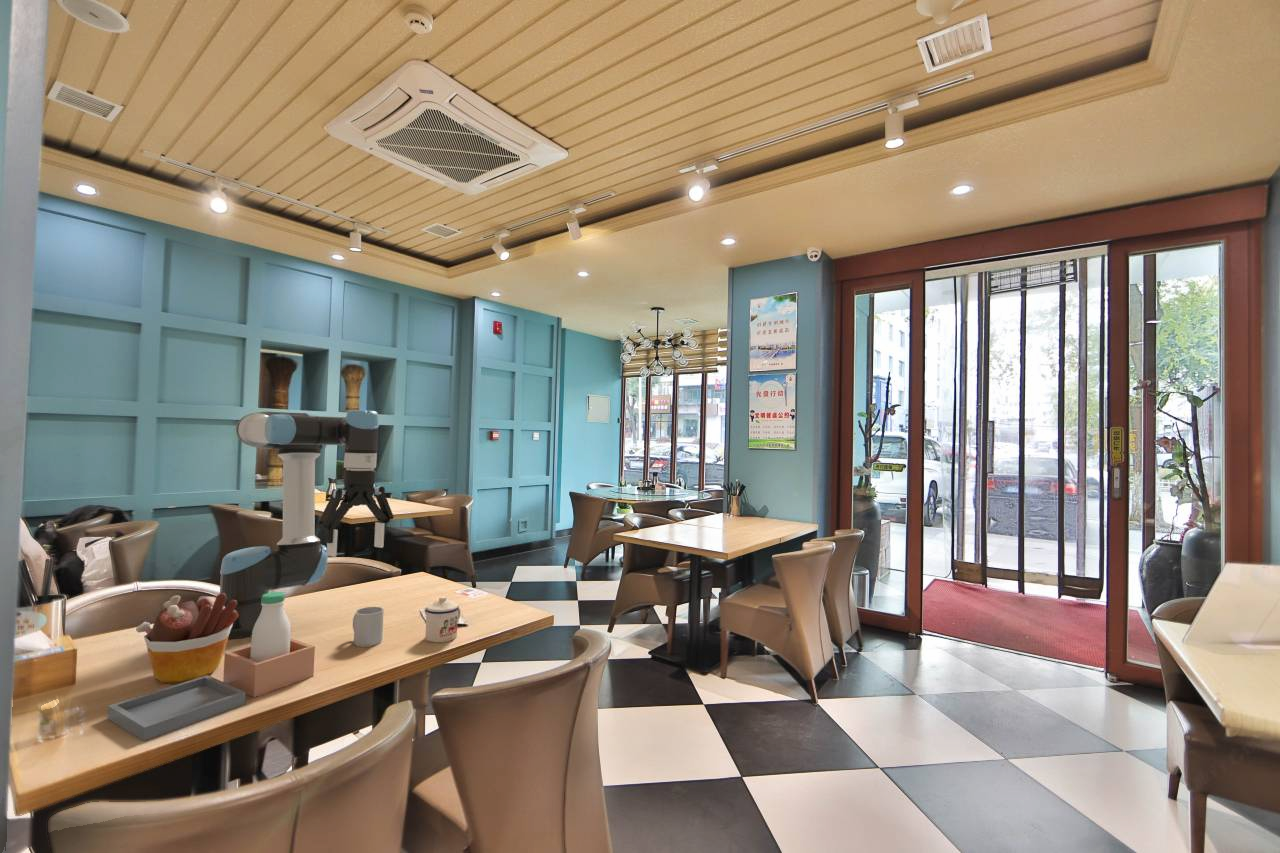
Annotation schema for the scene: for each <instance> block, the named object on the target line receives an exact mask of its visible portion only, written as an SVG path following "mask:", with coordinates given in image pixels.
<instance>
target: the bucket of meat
mask: <svg viewBox="0 0 1280 853" xmlns="http://www.w3.org/2000/svg"><path fill="white" fill-rule="evenodd" d="M181 598H182V597H181V596H180V595H178V594H177V595H173V596H171V597H170V599H169V600H168V601H165V602H164V603H163V608H164V609H162V610H161V611H159V612H158V615H157V616H156V618H155V621H154V623H153V625H152V627H151V623H150V622H147V621H143V623H141V624H139V625H138V626H136V629H135V631H136V632H137V633H144V632H145V633H146V634H145V635H144V636H143V637H144V642H145V645H146V649H147V652H148V656H149V661H150V664H151V670H152V672H153V673H152V674H153V676H154V677H155V678H156V679H157V680H158V681H159V682H161V683H162V684H180V683H184V682H187V681H190V680H193V679H197V678H200V677H203V676H206V675H209V676H210V675H212V674H213V673H214V672H215V671H216V670H217V668H218V667H219V665H221V662H222V659H223V656H224V654H225V649H226V646H227V643H228V640H229V639H228V637H229V634H230V630H231V628H232V625H233V622H234V621H235V620H236V619H237V618H238V616H239V614H238V613H237V611H236V610H234V609H235V607H236V606H237V601H236V600H231V601H230V602H228V604H227V606H226V607H225V606H224V604H225V602H226V599H227V596H226V594H225V593H220V592H219V594H218V595H216V596H202V595H201V596H200V597H198V598H197V601H196V603H195V602H194V601H195V600H188V601H185V602H181V603H179V602H180V601H181Z"/></svg>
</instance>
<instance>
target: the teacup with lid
mask: <svg viewBox="0 0 1280 853" xmlns="http://www.w3.org/2000/svg"><path fill="white" fill-rule="evenodd" d="M438 598H439V599H438V600H435V601H434V602H431V603H429V604H428V605H426V606H427V607H426V606H425V607H426V609H425V610H426V620H425V634H424V635H425V636H424V637H425V640H426V641H427V642H429V643H437V644H438V643H446V642H450V641H452V640H455V639H456V638H457V635H458V624H457V622H458V620H459V618H460V614H461V613H462V611H461V608H460V607H459V604H458V603H457V602H454V601H451V600H449V599H447V597H446V596H444V595H442V596H439V597H438Z"/></svg>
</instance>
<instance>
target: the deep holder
mask: <svg viewBox="0 0 1280 853" xmlns="http://www.w3.org/2000/svg"><path fill="white" fill-rule="evenodd" d="M315 649H316V646H314V645H312V644H309V643H305V642H302V641H299V640H296V639H294V638H292V637H290V653H287V654H284V655H281V656H278V657H275V658H271V659H268V660H265V661H262V662H259V663H258V662H255V661H253V660H250V655H251V645H248V646H244V647H241V648H238V649H233V650H231V651H227V652H224V660H223V662H224V663H223V680H222V682H224V683H227V684H229V685H231V686H233V687H235V688H238V689H240V690H242V691H244V692H246V695H247V696H249V695H250V697H252V698H256V696H257V697H259V696H262V694H263V695H265V694H268V693H270V691H271V692H273V690H274V691H276V690H279V689H282V688H284V686H285V687H287V686H290V685H292V684H291V683H293V684H295V683H294V682H296V683H298V682H300V681H299V680H301V681H303V680H302V679H304V680H306V679H305V678H307V679H309V678H312V677H314V675H315V674H314V672H315ZM297 681H298V682H297ZM289 684H290V685H289ZM286 685H287V686H286ZM281 687H282V688H281ZM278 688H279V689H278ZM275 689H276V690H275Z"/></svg>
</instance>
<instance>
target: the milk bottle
mask: <svg viewBox="0 0 1280 853" xmlns="http://www.w3.org/2000/svg"><path fill="white" fill-rule="evenodd" d="M285 597H286V593H285V592H283V591H274V592H272V591H270V592H269V593H267V594H264V595H262V598H261V602H262V604H261V605H262V610H261V613H260V615H259V617H258V619H257V621H256V623H255V625H254V628H253V632H252V636H251V641H250V642H251V643H250V646H251V655H250V660H253V661H255V662H258V663H259V662H262V661H265V660H268V659H271V658H275V657H278V656H281V655H284V654H287V653H290V638H292V636H291V632H292V630H291V629H292V628H291V622H290V619H289V617H288V616H287V613H286V611H285V607H284V603H285V599H286V598H285Z"/></svg>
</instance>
